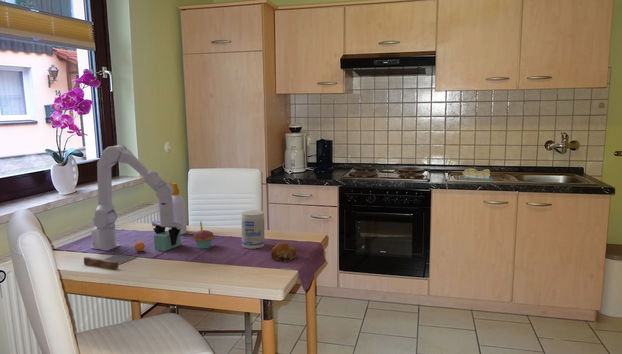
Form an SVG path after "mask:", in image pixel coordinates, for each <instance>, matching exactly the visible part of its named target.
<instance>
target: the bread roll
mask: <svg viewBox="0 0 622 354" xmlns="http://www.w3.org/2000/svg"><path fill="white" fill-rule="evenodd" d="M270 252H271V253H270V254H271V255H270V257H271V260H273V261H274V262H282V263H283V262H285V263H286V262H289V261H292V260H295V259H296V258H297V250H296V247H295V246H294V245H293V244H291V243H288V242H285V241H284V242H278V243H277V244H275V245H274V247H272V248H271V251H270Z"/></svg>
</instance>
